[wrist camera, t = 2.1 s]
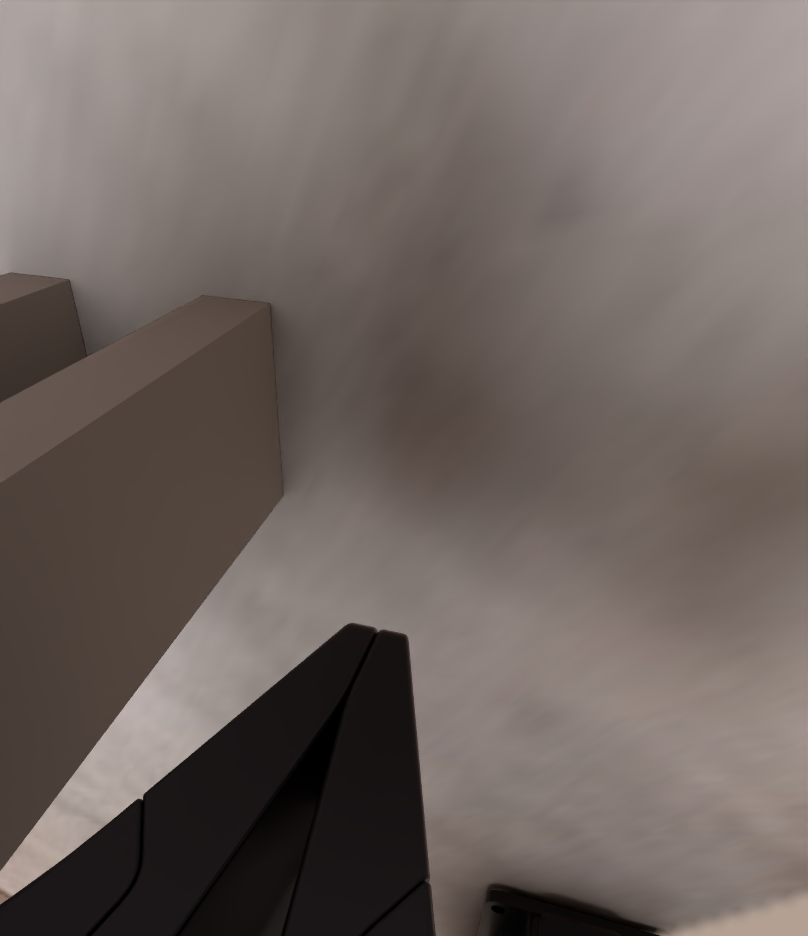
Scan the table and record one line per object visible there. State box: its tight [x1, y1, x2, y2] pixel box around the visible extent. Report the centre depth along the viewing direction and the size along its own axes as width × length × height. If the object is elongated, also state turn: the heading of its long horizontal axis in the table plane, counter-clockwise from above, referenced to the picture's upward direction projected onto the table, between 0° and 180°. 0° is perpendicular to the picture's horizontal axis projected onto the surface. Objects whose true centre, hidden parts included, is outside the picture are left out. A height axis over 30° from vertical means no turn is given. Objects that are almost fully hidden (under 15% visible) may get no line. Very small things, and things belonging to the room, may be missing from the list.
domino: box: [0, 295, 283, 871], centre depth 11 cm, size 2×5×10 cm, turn 178°
